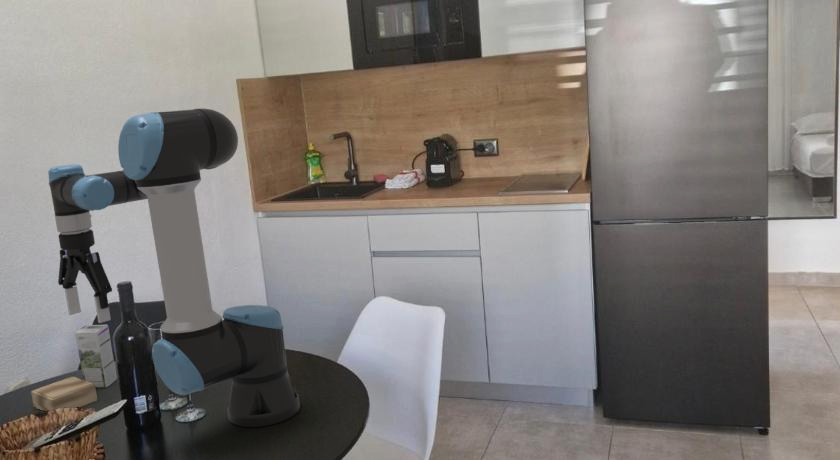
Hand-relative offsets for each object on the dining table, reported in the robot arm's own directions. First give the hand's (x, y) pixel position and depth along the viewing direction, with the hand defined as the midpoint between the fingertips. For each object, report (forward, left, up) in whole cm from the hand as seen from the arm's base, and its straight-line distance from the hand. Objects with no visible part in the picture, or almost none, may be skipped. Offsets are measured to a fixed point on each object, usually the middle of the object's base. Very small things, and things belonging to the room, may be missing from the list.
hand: (89, 317), depth 185 cm
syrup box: (0, 0, -17) cm, 17 cm away
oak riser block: (-4, +11, -17) cm, 21 cm away
